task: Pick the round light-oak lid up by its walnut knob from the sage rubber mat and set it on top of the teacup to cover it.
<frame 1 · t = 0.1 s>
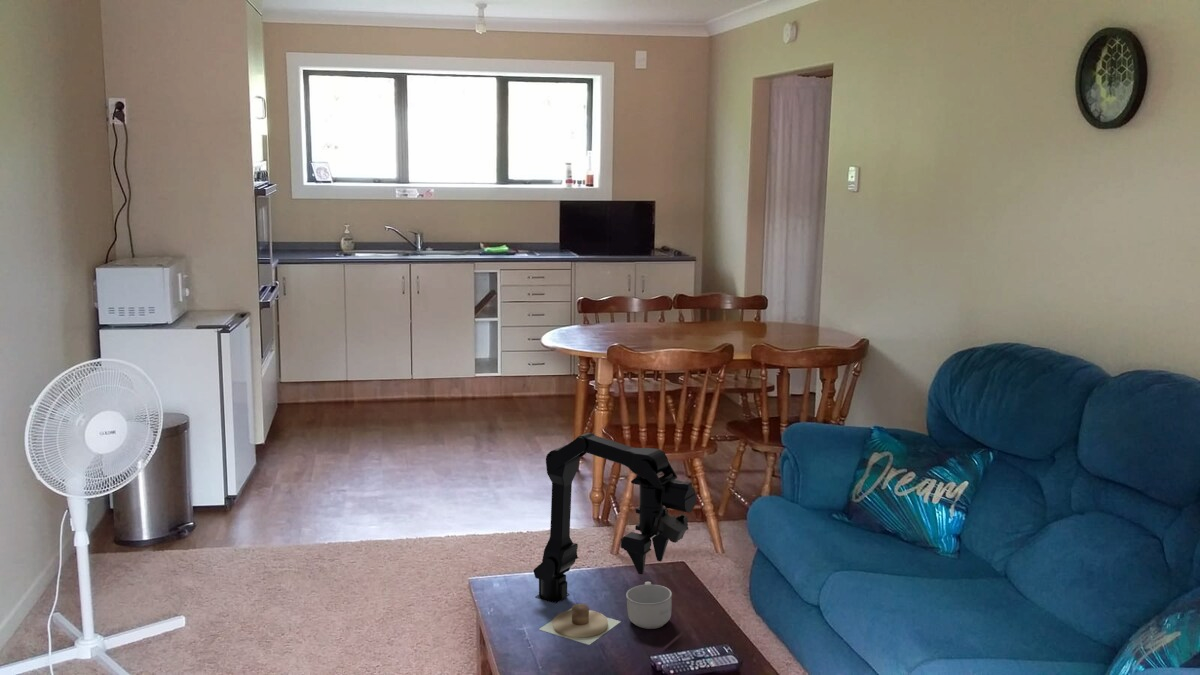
hand: (650, 567, 230), 15 cm above the table, tool pointing down, fingers open, 9 cm apart
sage mat: (580, 627, 231), on the table
oak lid: (580, 625, 231), point 1 cm above the table, touching sage mat
teacup: (649, 622, 235), on the table
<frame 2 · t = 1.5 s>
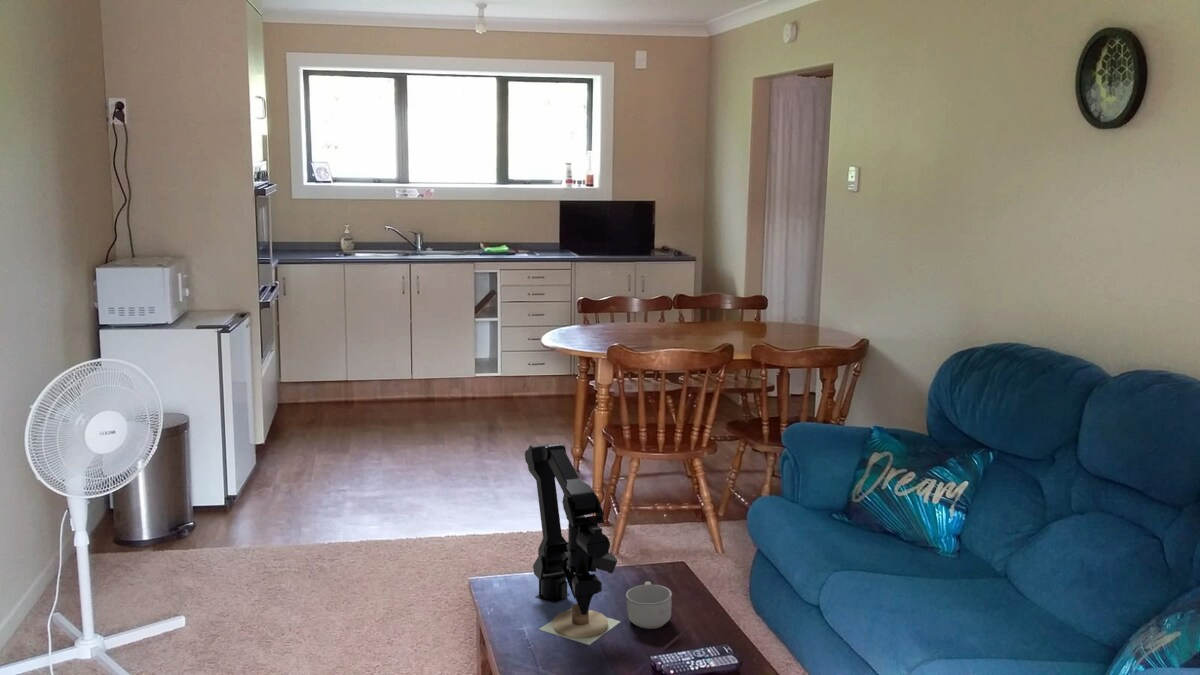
hand: (580, 605, 231), 5 cm above the table, tool pointing down, fingers open, 9 cm apart
nothing on the table moved.
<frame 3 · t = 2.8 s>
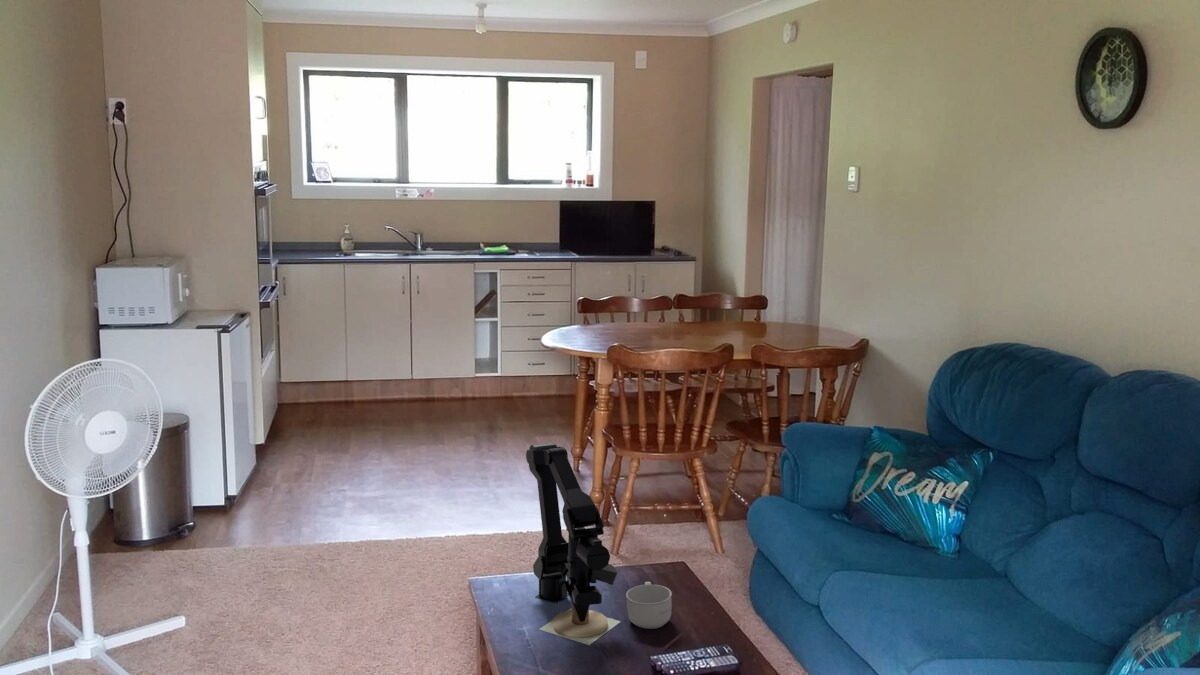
hand: (580, 617, 231), 3 cm above the table, tool pointing down, fingers closed on oak lid, 4 cm apart
oak lid: (580, 625, 231), point 1 cm above the table, touching gripper, sage mat
everything else where it was.
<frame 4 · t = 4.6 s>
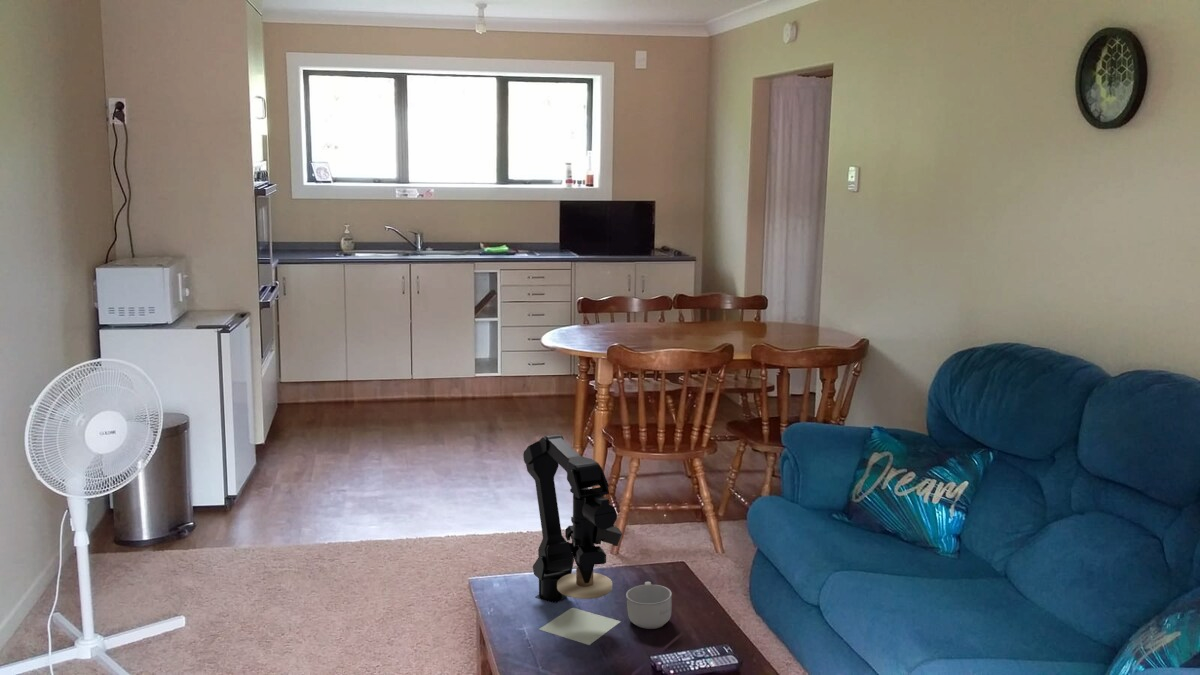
hand: (584, 579, 230), 12 cm above the table, tool pointing down, fingers closed on oak lid, 4 cm apart
oak lid: (584, 587, 230), point 10 cm above the table, touching gripper
everything else where it was.
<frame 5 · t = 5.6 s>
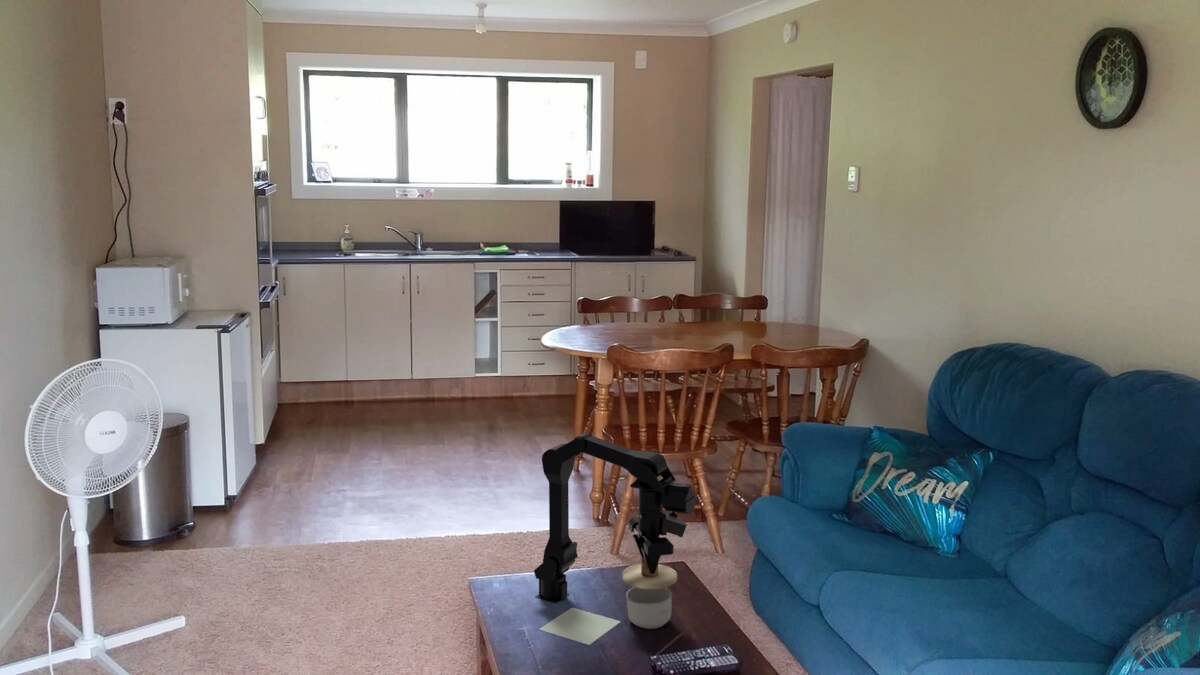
hand: (649, 570, 233), 13 cm above the table, tool pointing down, fingers closed on oak lid, 4 cm apart
oak lid: (649, 577, 233), point 11 cm above the table, touching gripper
everything else where it was.
when the fingers open (11 cm above the table, at t = 6.3 s): oak lid stays where it is, resting on teacup.
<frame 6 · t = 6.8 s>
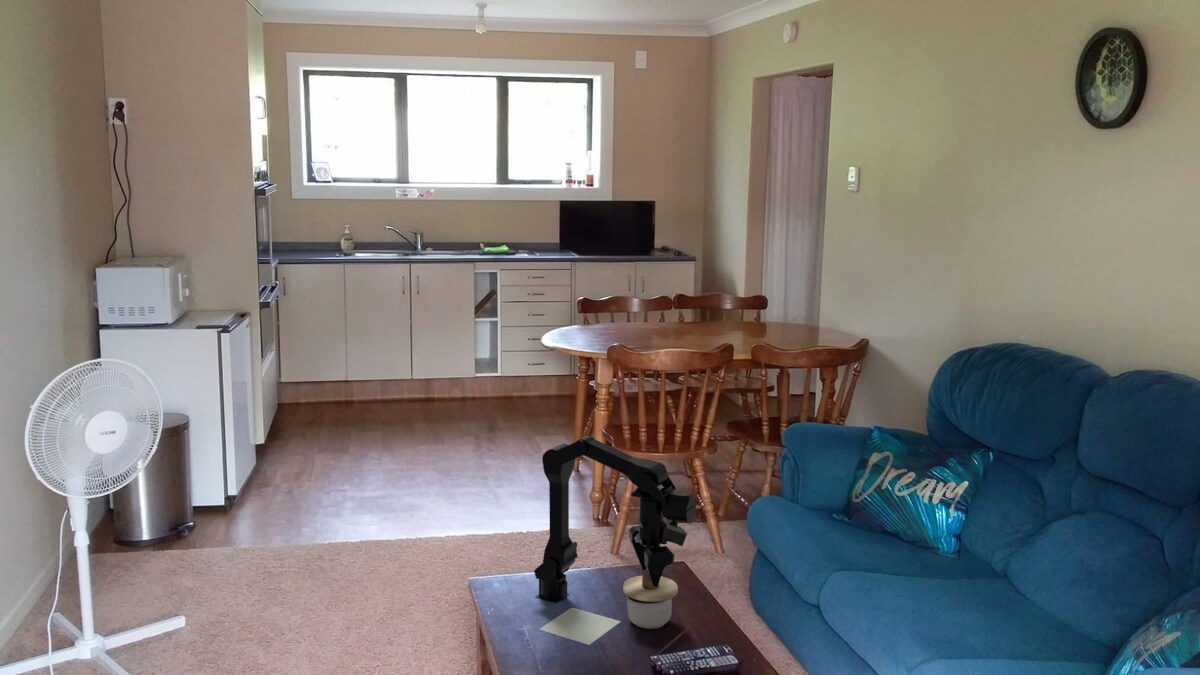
hand: (650, 578, 233), 11 cm above the table, tool pointing down, fingers open, 9 cm apart
oak lid: (650, 590, 234), point 8 cm above the table, touching teacup
teacup: (649, 622, 235), on the table, touching oak lid
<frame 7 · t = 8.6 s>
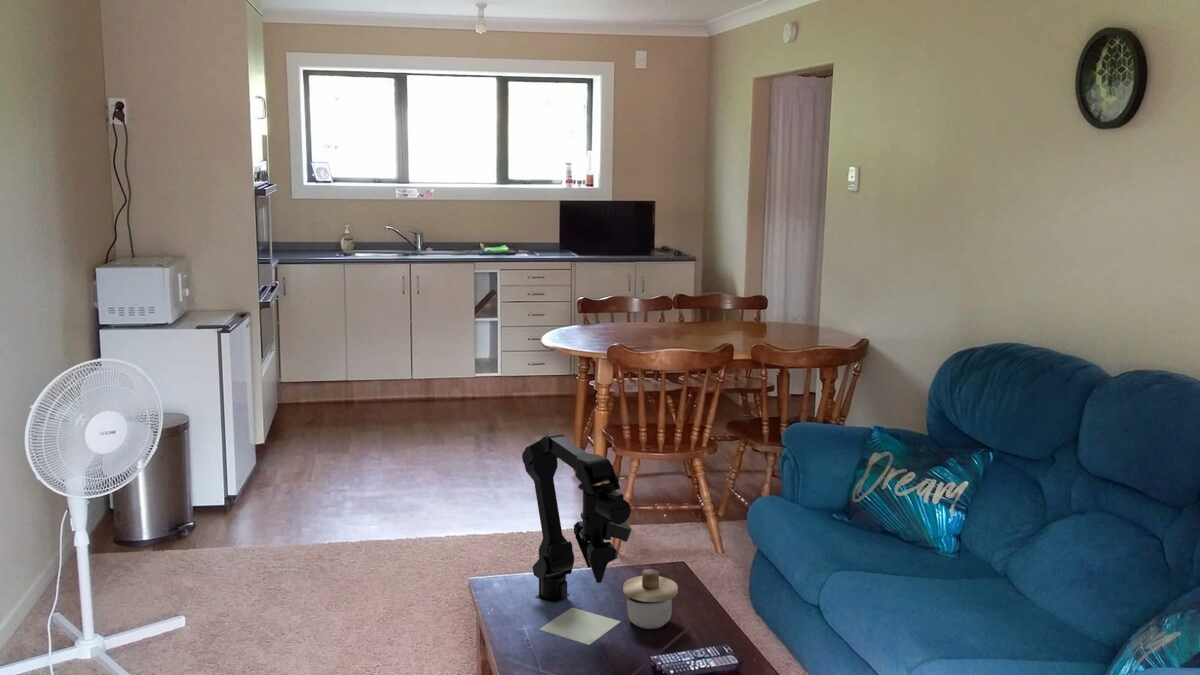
hand: (594, 574, 230), 13 cm above the table, tool pointing down, fingers open, 9 cm apart
nothing on the table moved.
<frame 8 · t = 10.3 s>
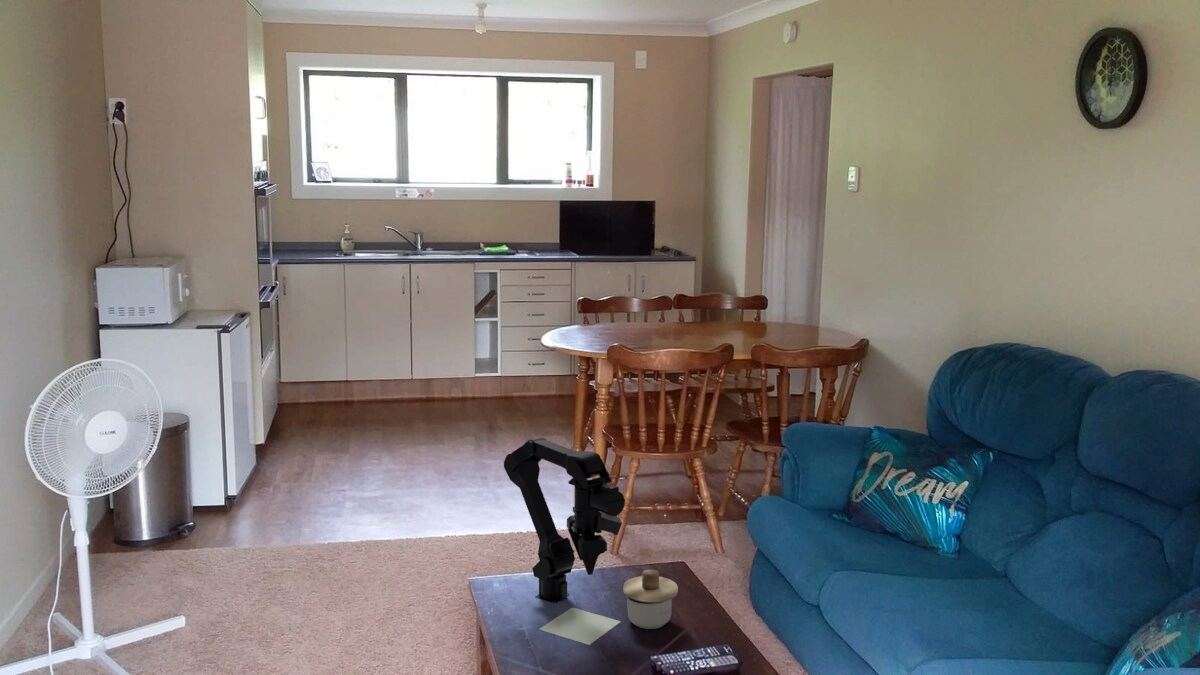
hand: (586, 567, 237), 12 cm above the table, tool pointing down, fingers open, 9 cm apart
nothing on the table moved.
at the end: oak lid 0.3 cm from the teacup (horizontally); oak lid point 7.9 cm above the table; oak lid tilted 0° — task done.
